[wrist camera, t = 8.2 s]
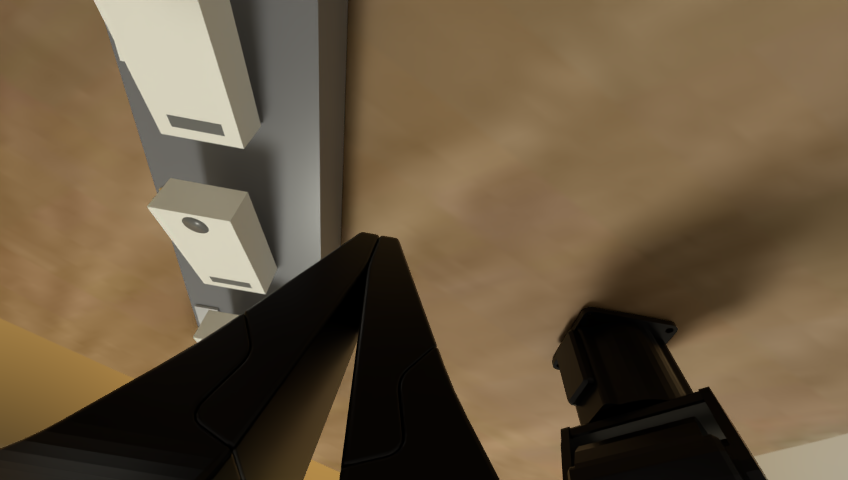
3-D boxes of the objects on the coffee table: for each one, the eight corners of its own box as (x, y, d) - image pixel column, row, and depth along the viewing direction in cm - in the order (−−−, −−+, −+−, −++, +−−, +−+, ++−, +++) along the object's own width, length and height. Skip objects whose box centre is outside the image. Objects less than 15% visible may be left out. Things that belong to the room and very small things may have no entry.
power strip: (366, -471, 10) (313, -726, 6) (339, 339, 29) (322, 386, 25) (55, -540, 9) (-174, -839, 6) (237, 321, 29) (207, 366, 25)
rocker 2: (247, 192, 15) (229, 221, 14) (277, 268, 20) (265, 294, 19) (170, 177, 15) (146, 206, 14) (218, 258, 20) (204, 283, 19)
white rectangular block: (215, -57, 10) (184, -43, 9) (261, 125, 15) (244, 149, 14) (103, -79, 10) (59, -67, 9) (183, 111, 15) (161, 133, 14)
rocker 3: (267, 320, 20) (255, 348, 18) (285, 360, 24) (276, 385, 23) (208, 309, 19) (192, 337, 18) (238, 352, 24) (226, 376, 23)
